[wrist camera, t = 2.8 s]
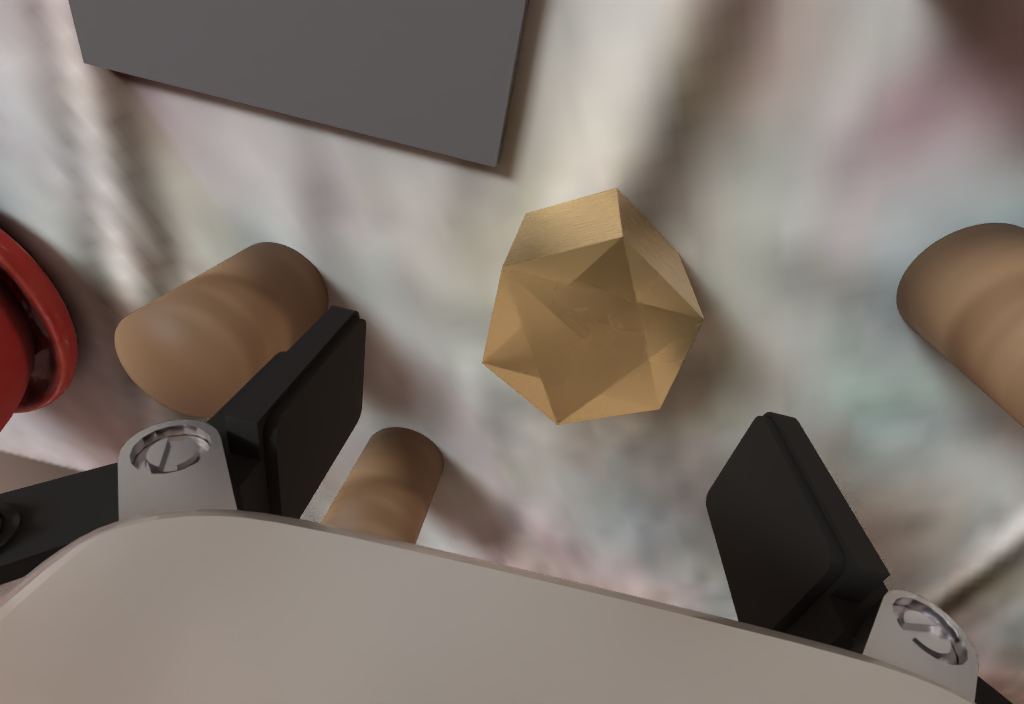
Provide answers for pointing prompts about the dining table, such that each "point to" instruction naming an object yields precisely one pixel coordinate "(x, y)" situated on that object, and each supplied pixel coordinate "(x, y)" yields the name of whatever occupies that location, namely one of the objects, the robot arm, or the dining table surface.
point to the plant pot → (31, 335)
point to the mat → (329, 61)
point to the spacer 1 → (221, 328)
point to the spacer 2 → (389, 486)
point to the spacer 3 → (973, 307)
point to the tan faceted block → (591, 311)
